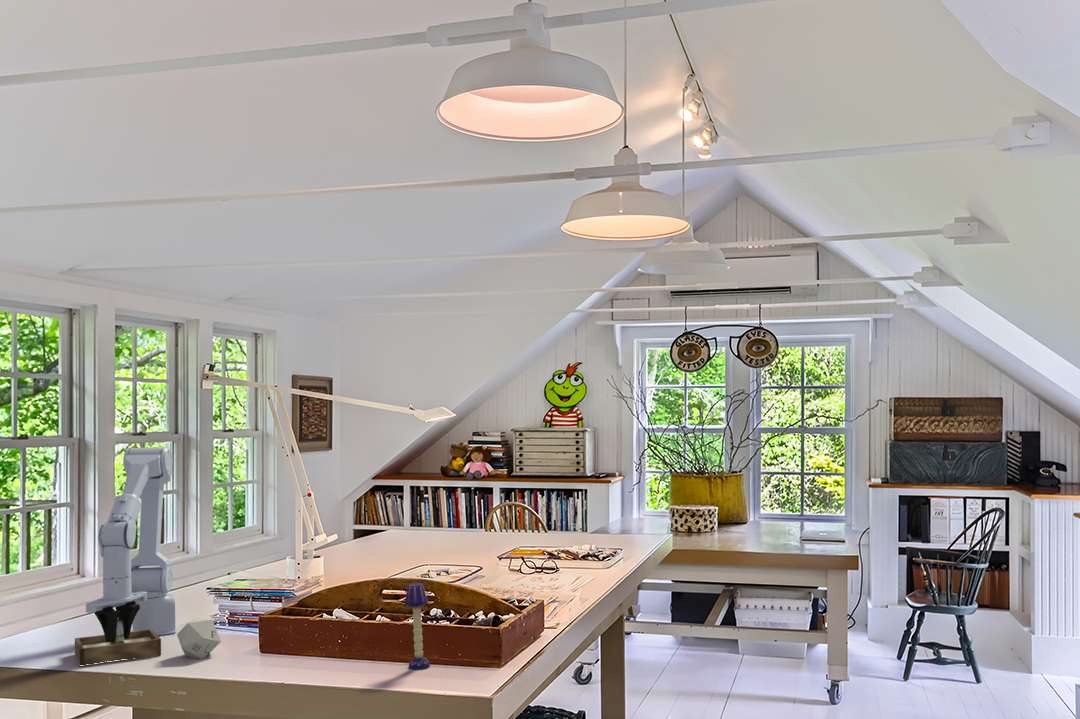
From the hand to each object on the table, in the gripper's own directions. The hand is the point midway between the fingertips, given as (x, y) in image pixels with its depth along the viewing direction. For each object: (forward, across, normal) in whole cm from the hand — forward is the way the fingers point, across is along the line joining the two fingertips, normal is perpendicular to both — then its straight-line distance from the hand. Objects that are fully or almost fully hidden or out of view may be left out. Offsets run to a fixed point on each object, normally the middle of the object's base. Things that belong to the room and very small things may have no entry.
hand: (117, 640), depth 220 cm
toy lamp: (+3, -17, +66) cm, 69 cm away
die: (+3, -6, +17) cm, 19 cm away
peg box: (+3, 0, 0) cm, 3 cm away
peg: (+2, 0, 0) cm, 2 cm away
